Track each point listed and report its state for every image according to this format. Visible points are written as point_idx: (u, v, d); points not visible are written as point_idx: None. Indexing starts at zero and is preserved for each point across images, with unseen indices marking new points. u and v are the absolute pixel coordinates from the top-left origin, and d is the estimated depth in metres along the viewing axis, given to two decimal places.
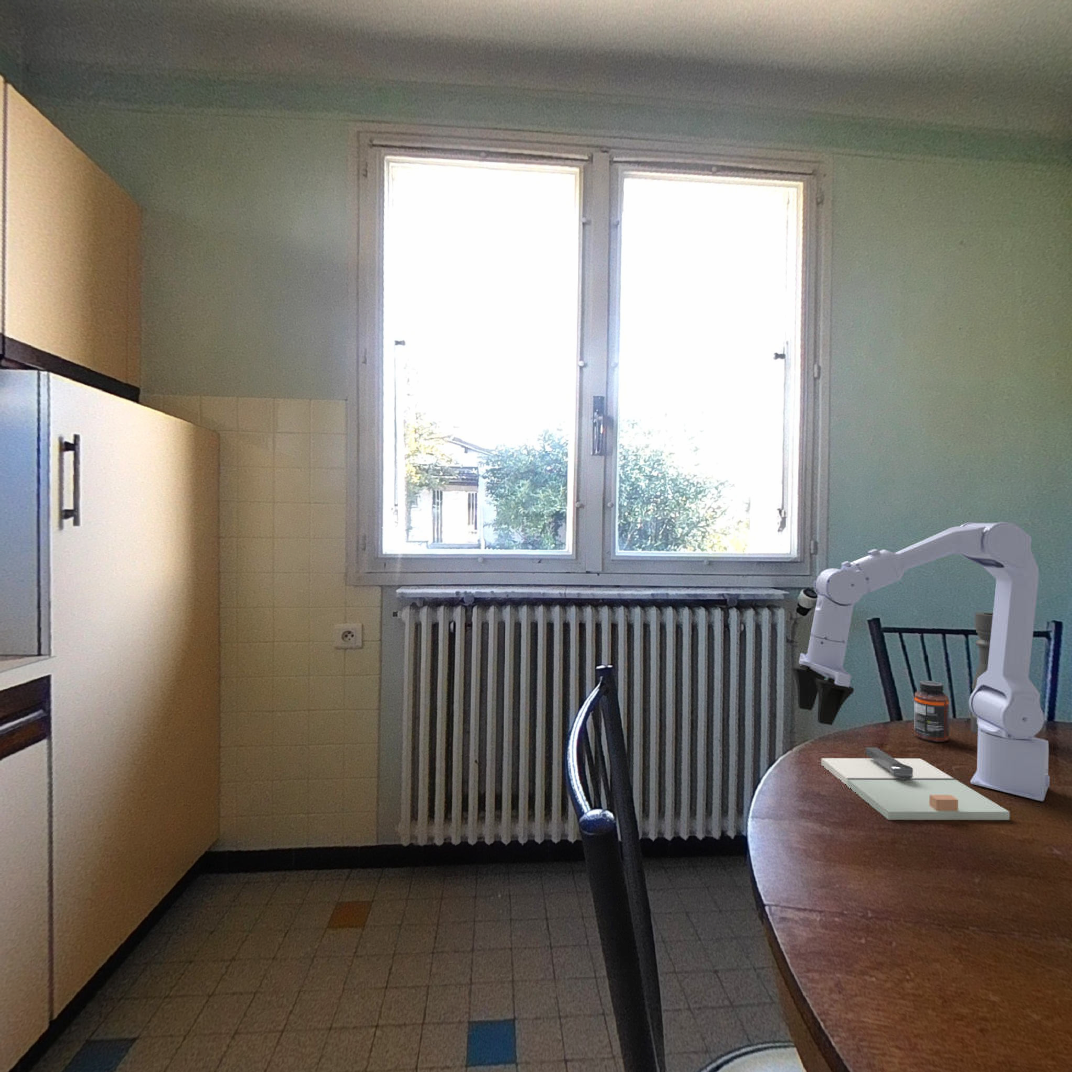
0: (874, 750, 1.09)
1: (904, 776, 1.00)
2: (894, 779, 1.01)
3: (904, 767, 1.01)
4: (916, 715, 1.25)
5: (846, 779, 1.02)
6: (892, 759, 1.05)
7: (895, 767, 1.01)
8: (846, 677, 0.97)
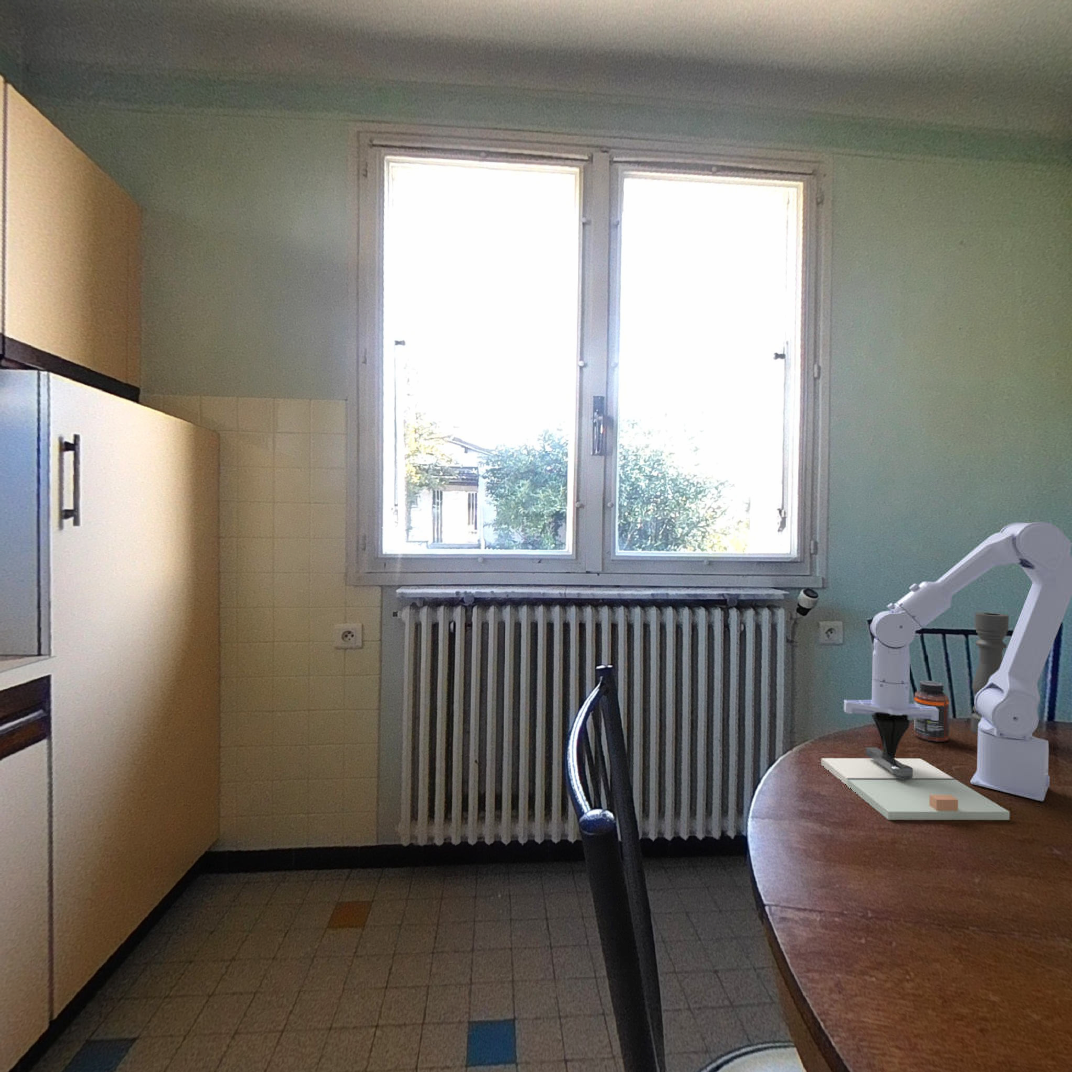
0: (874, 750, 1.09)
1: (904, 776, 1.00)
2: (894, 779, 1.01)
3: (904, 767, 1.01)
4: None
5: (846, 779, 1.02)
6: (892, 759, 1.05)
7: (895, 767, 1.01)
8: None
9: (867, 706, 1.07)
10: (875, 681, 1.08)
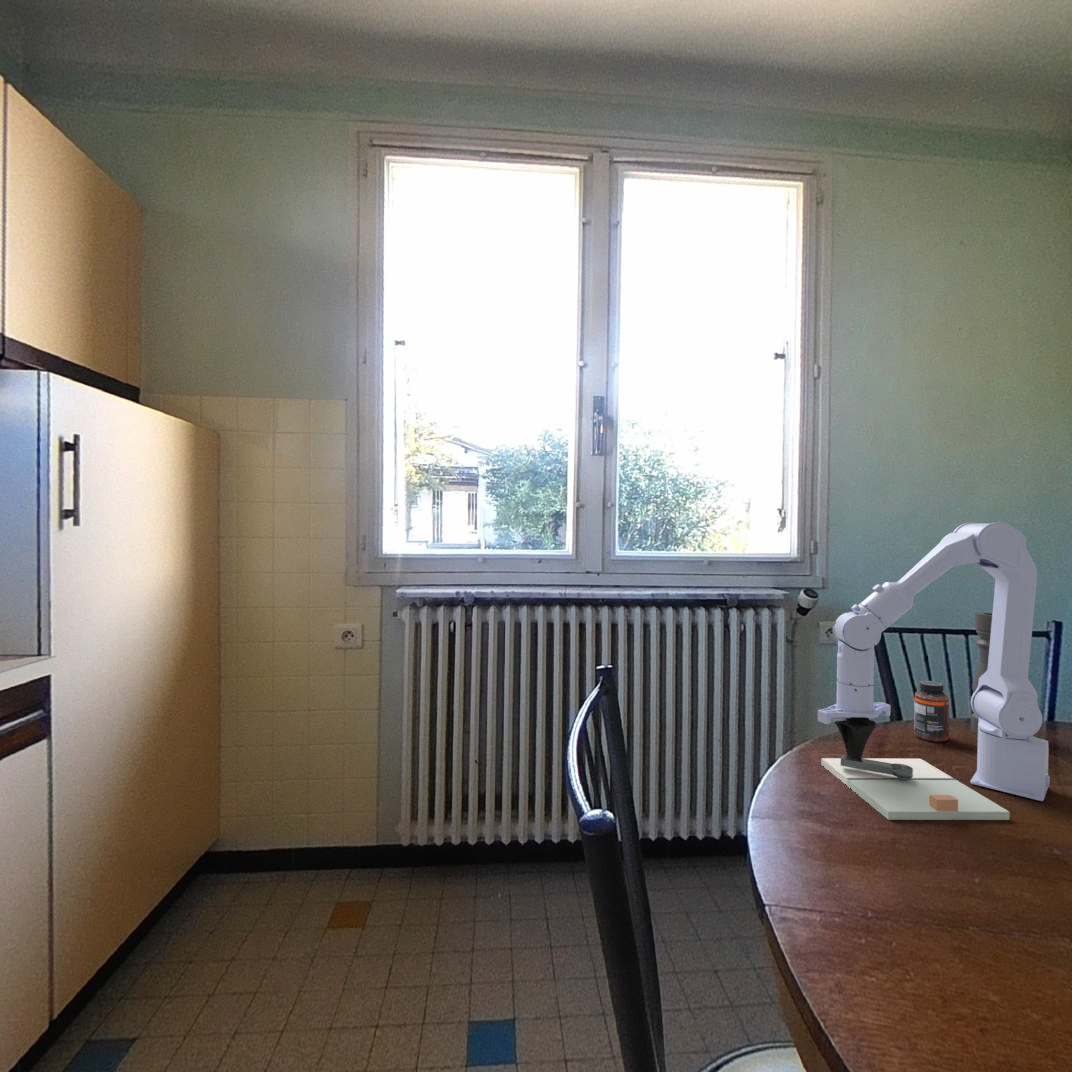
0: (849, 758, 1.05)
1: (912, 775, 1.00)
2: (894, 779, 1.01)
3: (902, 766, 1.02)
4: (916, 715, 1.25)
5: (846, 779, 1.02)
6: (878, 762, 1.03)
7: (902, 769, 1.00)
8: None
9: (845, 713, 1.03)
10: (848, 686, 1.04)
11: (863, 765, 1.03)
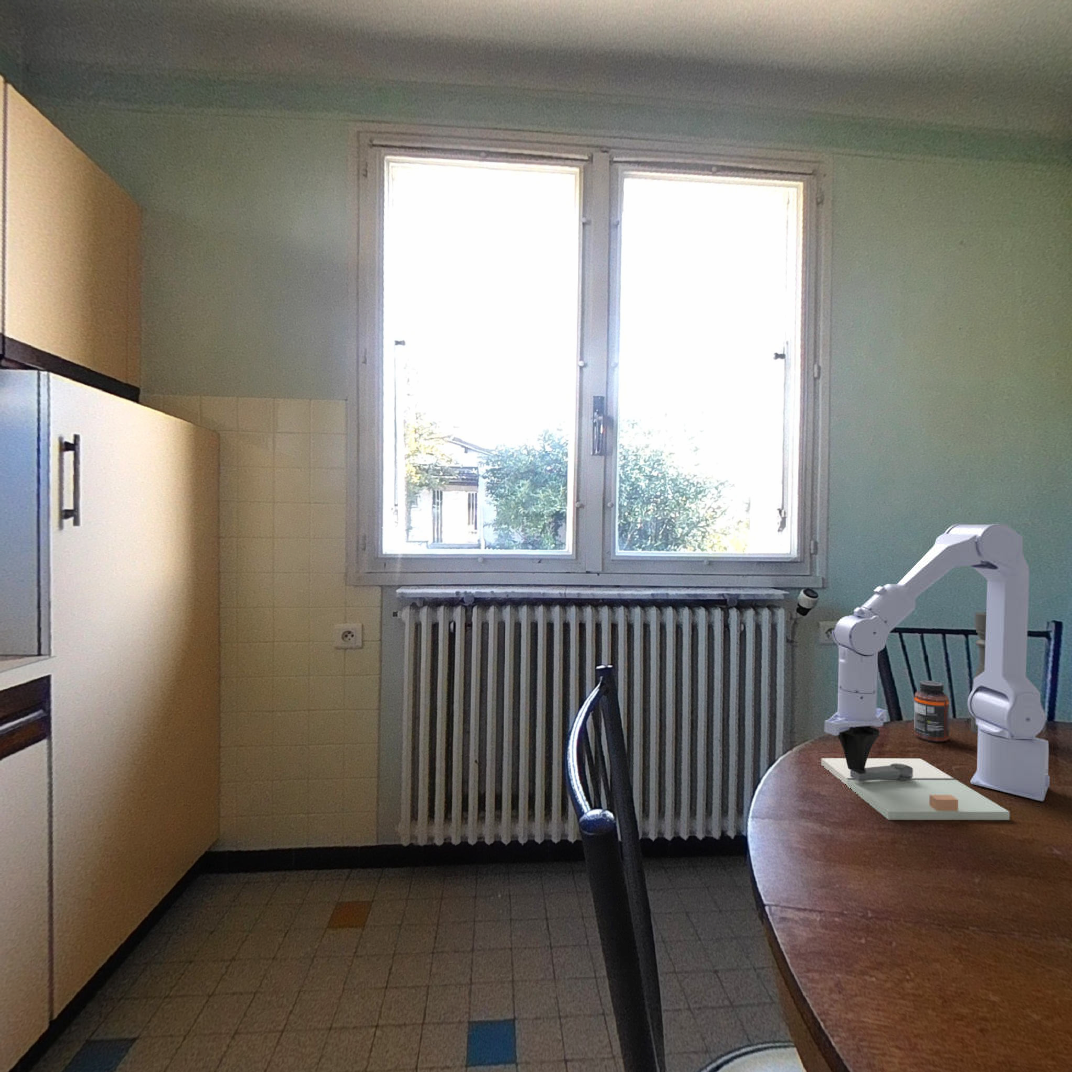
0: (862, 771, 1.00)
1: None
2: (894, 779, 1.01)
3: (900, 766, 1.02)
4: (916, 715, 1.25)
5: (846, 779, 1.02)
6: (882, 767, 1.01)
7: (907, 769, 1.00)
8: None
9: (852, 723, 0.98)
10: (853, 694, 0.99)
11: (877, 775, 0.99)
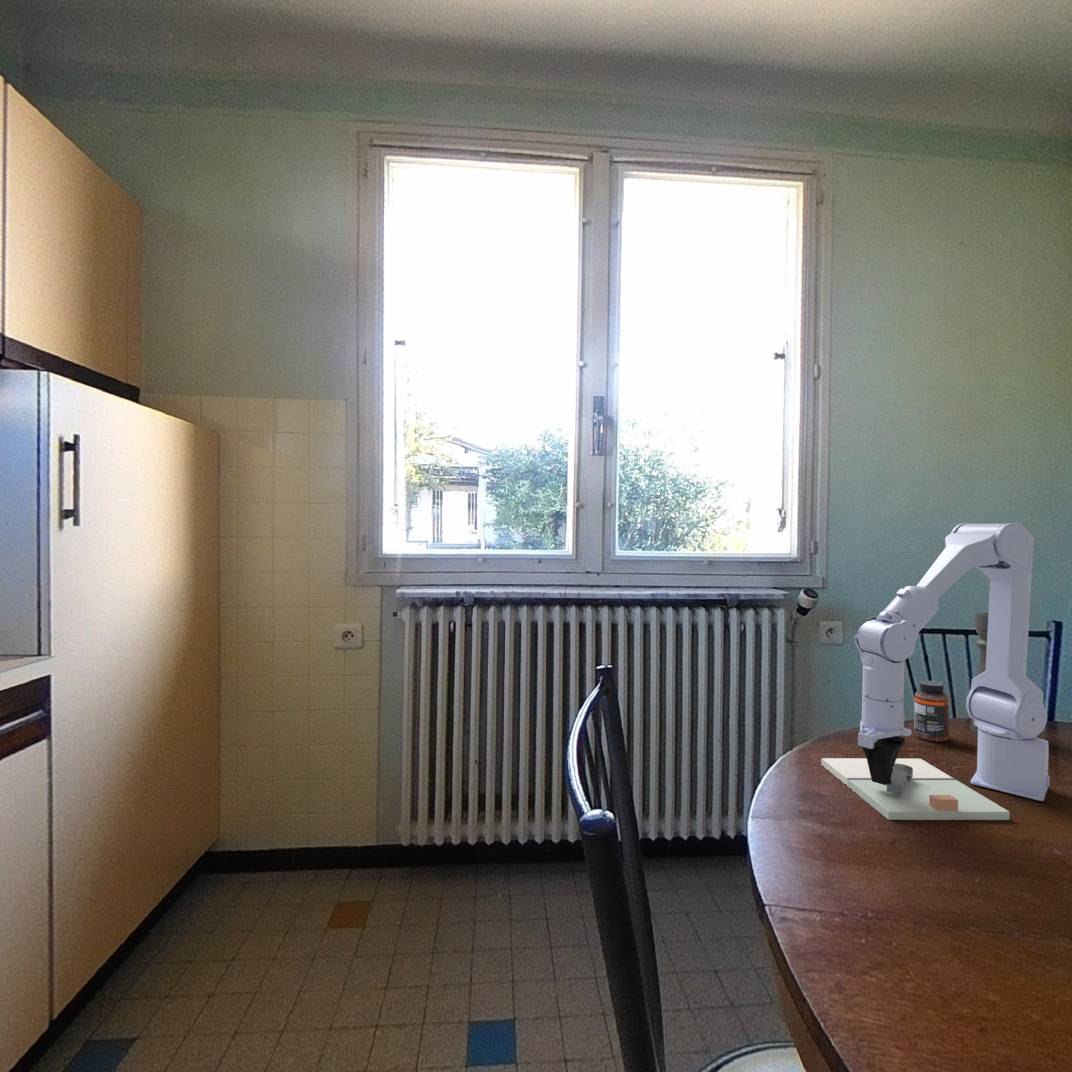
0: (896, 782, 0.95)
1: None
2: None
3: (898, 766, 1.02)
4: (916, 715, 1.25)
5: (846, 779, 1.02)
6: (895, 772, 0.99)
7: (909, 768, 1.01)
8: None
9: (885, 734, 0.93)
10: (883, 703, 0.94)
11: (904, 782, 0.96)
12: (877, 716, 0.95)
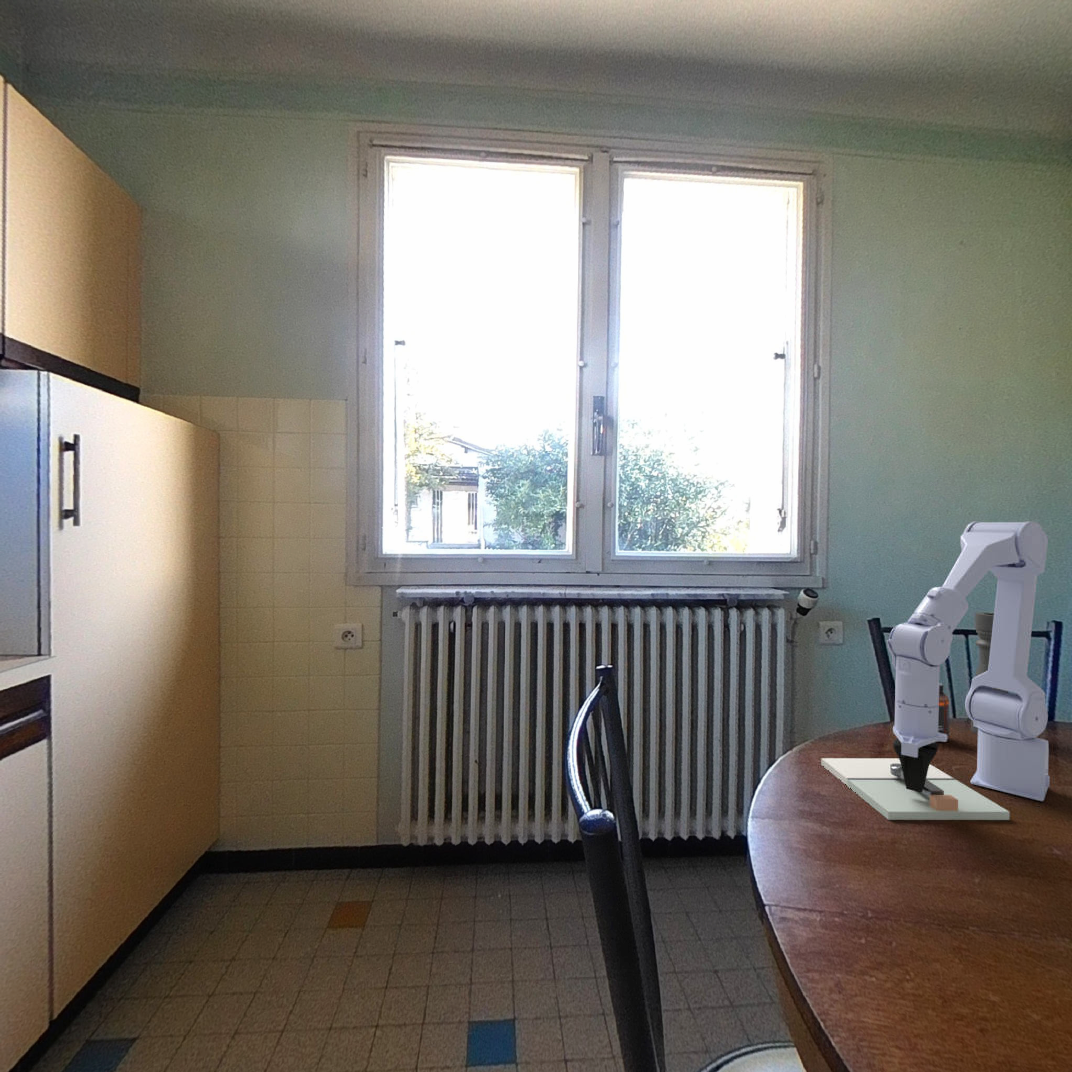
0: (932, 786, 0.94)
1: None
2: (894, 779, 1.01)
3: (898, 766, 1.01)
4: None
5: (846, 779, 1.02)
6: None
7: None
8: None
9: (926, 741, 0.90)
10: (922, 708, 0.91)
11: None
12: (915, 722, 0.92)
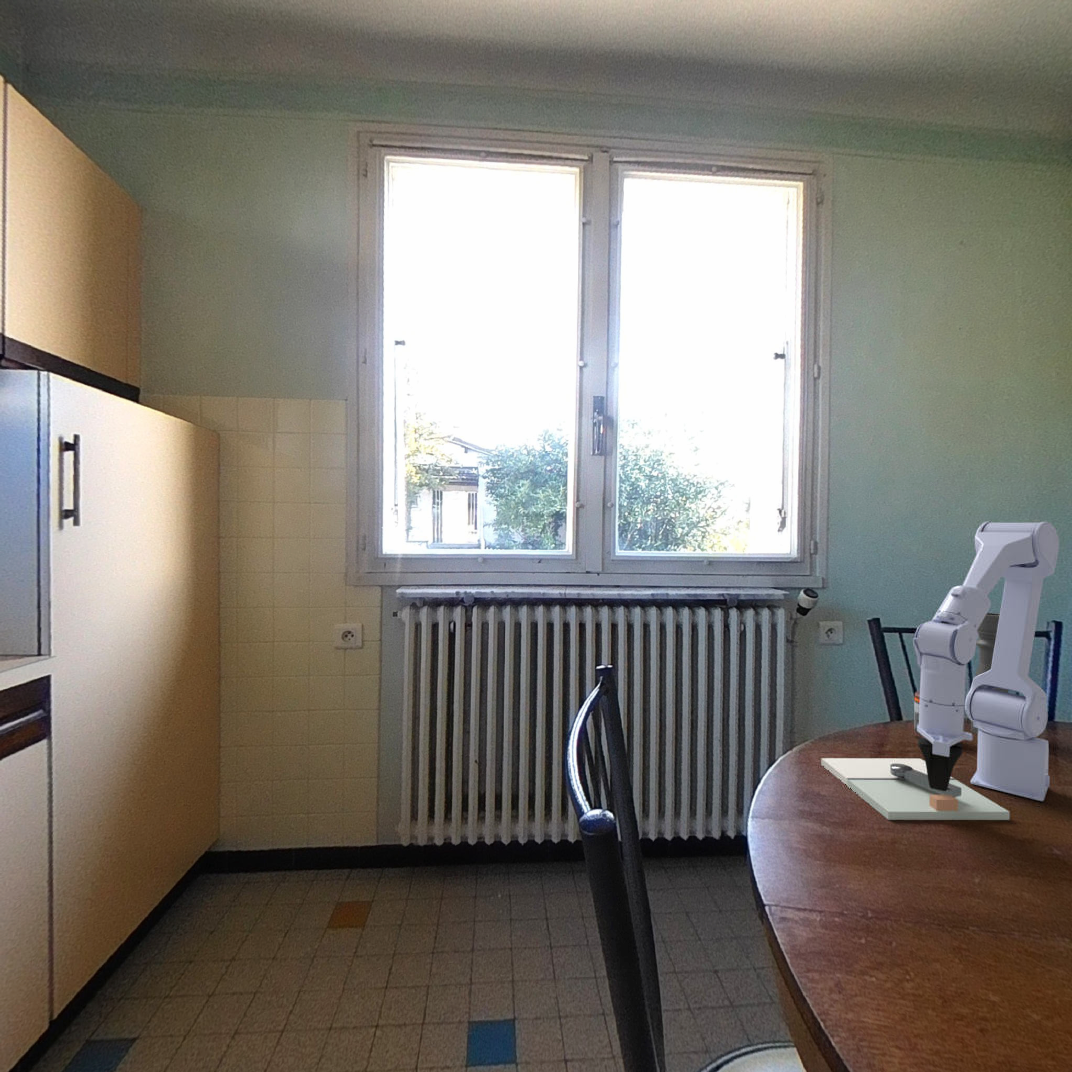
0: (948, 785, 0.94)
1: None
2: (894, 779, 1.01)
3: (899, 767, 1.01)
4: (916, 715, 1.25)
5: (846, 779, 1.02)
6: (918, 775, 0.98)
7: (905, 765, 1.02)
8: None
9: (955, 740, 0.90)
10: (949, 707, 0.91)
11: None
12: (943, 721, 0.91)
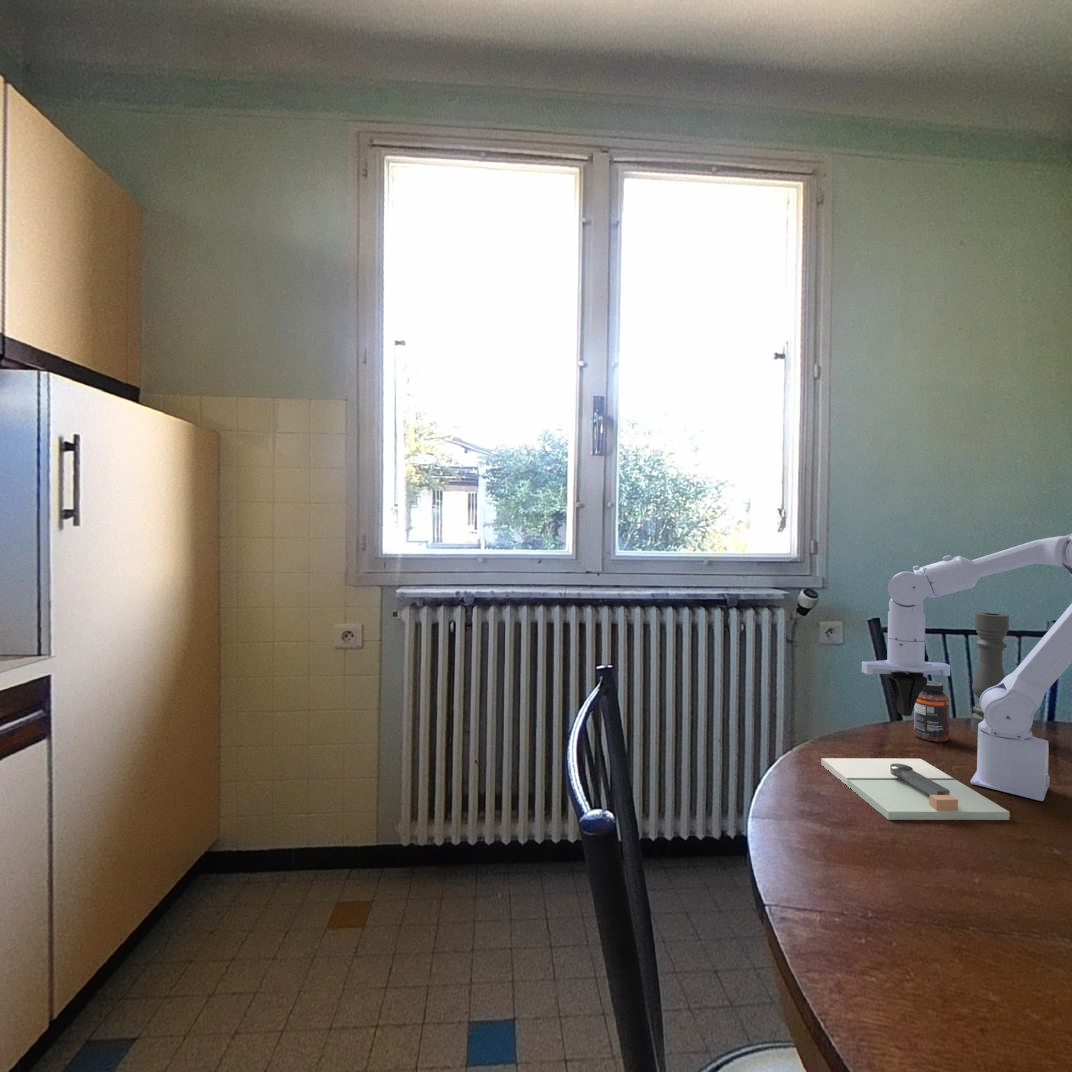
0: (937, 786, 0.94)
1: None
2: (894, 779, 1.01)
3: (898, 767, 1.01)
4: (916, 715, 1.25)
5: (846, 779, 1.02)
6: (913, 775, 0.98)
7: (907, 766, 1.02)
8: None
9: (887, 666, 1.08)
10: (893, 641, 1.09)
11: None
12: (890, 652, 1.09)
